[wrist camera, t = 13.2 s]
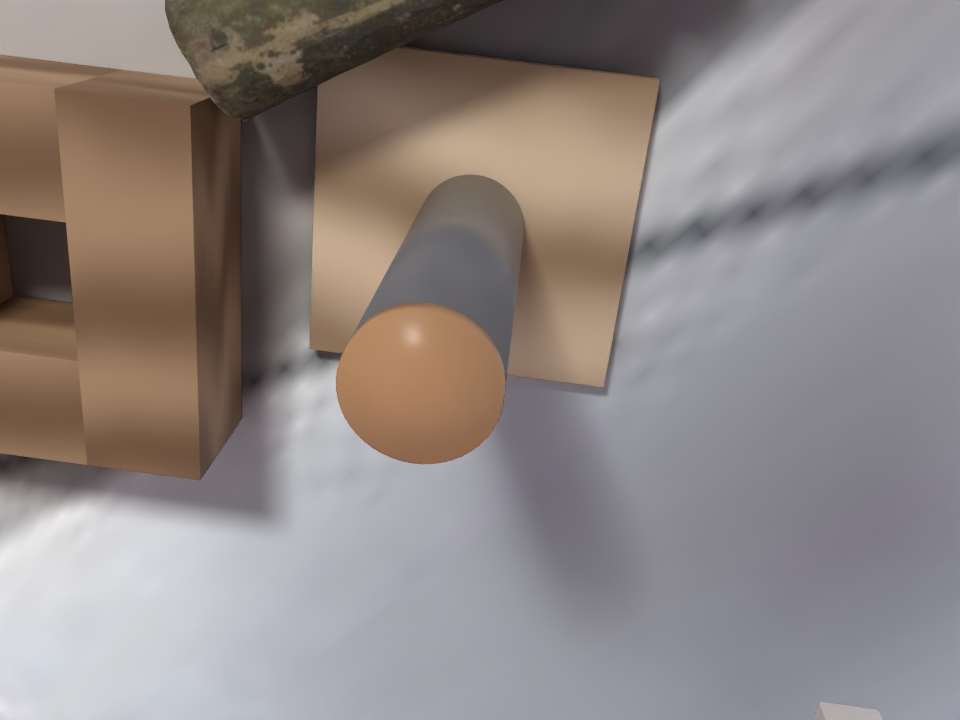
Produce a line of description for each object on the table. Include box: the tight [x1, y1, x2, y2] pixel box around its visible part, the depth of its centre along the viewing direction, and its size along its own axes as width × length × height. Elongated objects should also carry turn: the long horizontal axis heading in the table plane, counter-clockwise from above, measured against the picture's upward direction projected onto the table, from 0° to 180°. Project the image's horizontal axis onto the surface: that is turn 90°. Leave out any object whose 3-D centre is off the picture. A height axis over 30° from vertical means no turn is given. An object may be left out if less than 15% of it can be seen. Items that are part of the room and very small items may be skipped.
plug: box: [336, 174, 524, 464], centre depth 28 cm, size 4×4×14 cm
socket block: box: [0, 55, 242, 480], centre depth 34 cm, size 14×14×5 cm
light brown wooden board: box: [310, 46, 660, 387], centre depth 34 cm, size 12×12×1 cm
